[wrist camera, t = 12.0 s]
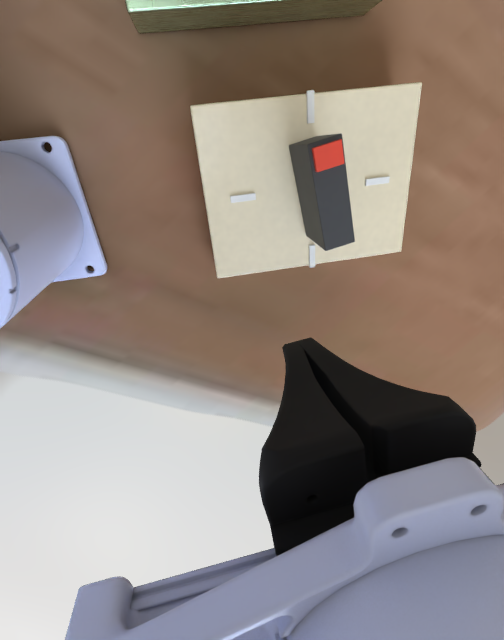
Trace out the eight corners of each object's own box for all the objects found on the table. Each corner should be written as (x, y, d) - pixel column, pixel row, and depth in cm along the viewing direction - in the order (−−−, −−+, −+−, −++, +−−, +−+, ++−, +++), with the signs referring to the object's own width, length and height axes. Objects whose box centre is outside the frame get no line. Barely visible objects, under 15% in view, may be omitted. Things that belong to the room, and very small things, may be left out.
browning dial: (331, 227, 19) (357, 243, 16) (306, 236, 19) (327, 252, 16) (317, 135, 17) (344, 132, 14) (288, 145, 17) (309, 144, 14)
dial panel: (215, 265, 23) (217, 281, 20) (190, 109, 18) (189, 102, 15) (378, 241, 24) (402, 254, 21) (392, 88, 19) (425, 78, 16)
